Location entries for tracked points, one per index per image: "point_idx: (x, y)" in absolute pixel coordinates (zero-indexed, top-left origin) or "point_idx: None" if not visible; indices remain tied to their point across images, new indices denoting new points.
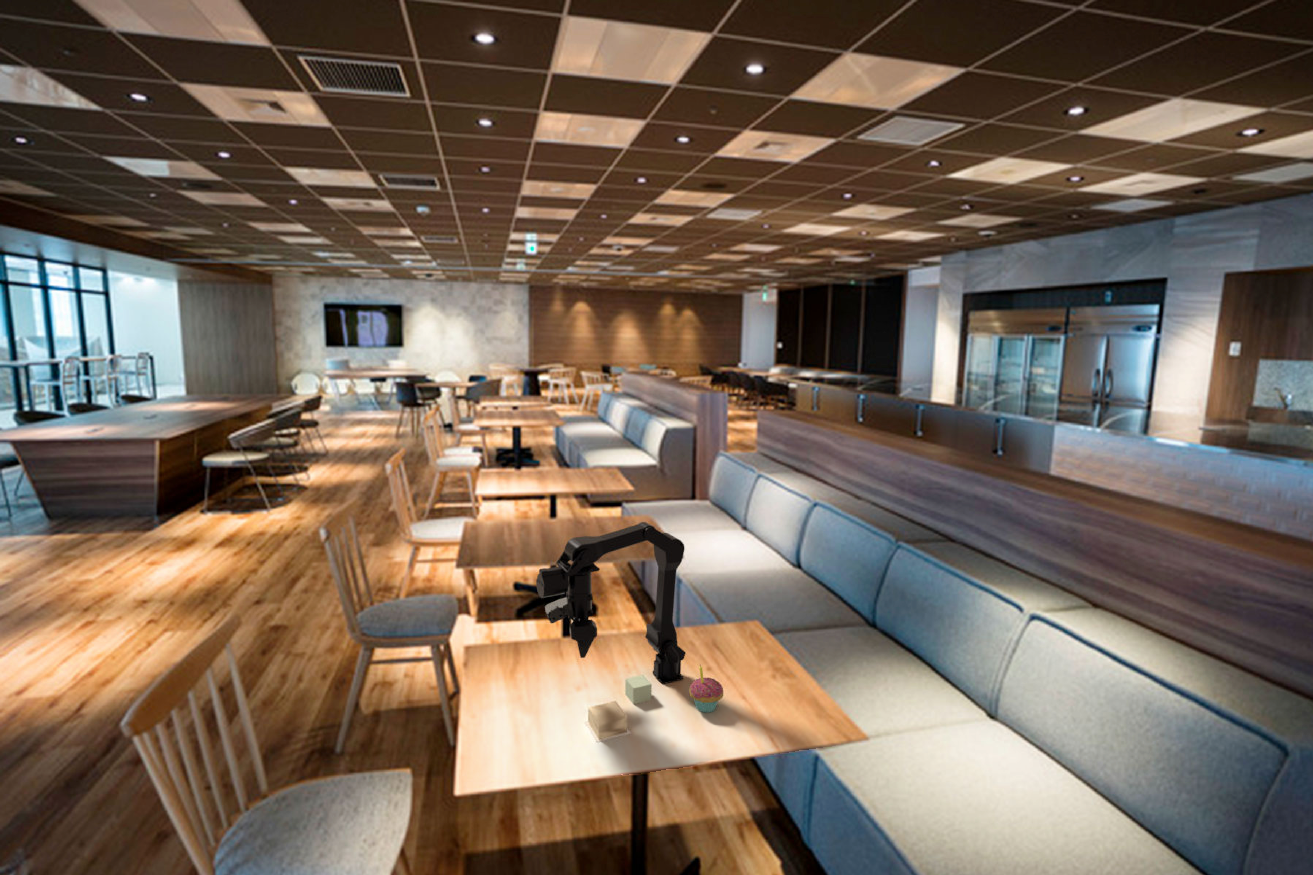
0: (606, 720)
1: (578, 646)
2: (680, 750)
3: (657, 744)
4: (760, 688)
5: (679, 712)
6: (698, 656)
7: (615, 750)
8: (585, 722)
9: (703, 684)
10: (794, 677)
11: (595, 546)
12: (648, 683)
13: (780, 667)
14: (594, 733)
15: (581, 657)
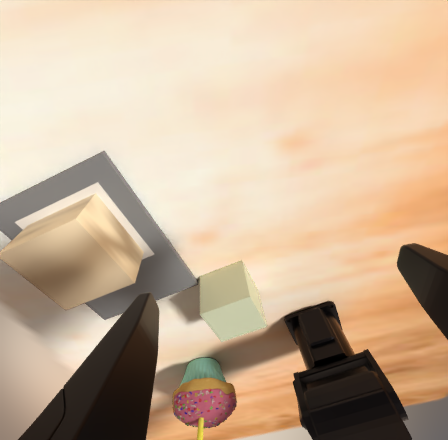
0: (23, 270)
1: (50, 405)
2: (64, 345)
3: (70, 318)
4: (254, 407)
5: (183, 340)
6: None
7: None
8: (96, 185)
9: (194, 419)
10: (278, 427)
11: None
12: (224, 337)
13: None
14: (50, 213)
15: (139, 298)
